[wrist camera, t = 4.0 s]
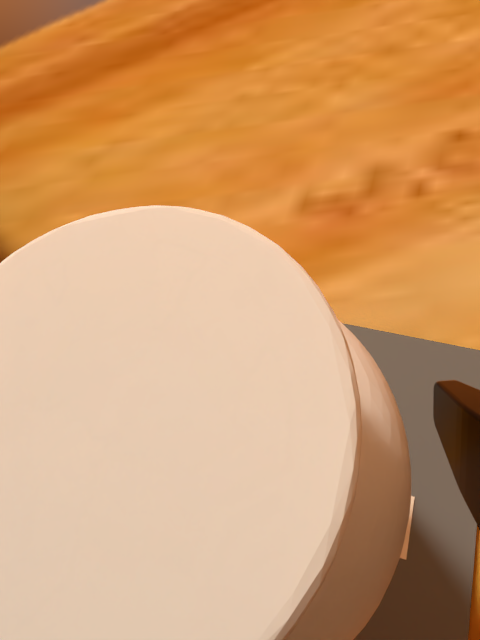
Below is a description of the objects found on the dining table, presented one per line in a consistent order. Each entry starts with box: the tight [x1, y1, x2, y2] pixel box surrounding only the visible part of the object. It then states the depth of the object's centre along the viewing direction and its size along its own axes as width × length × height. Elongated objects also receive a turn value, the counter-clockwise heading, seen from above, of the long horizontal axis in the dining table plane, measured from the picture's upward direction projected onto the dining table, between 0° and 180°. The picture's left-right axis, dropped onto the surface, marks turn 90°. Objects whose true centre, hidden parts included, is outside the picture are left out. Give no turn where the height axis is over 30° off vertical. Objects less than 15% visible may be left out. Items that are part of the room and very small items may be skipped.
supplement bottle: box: [0, 205, 411, 640], centre depth 9 cm, size 7×7×13 cm
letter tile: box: [342, 323, 480, 640], centre depth 15 cm, size 14×14×1 cm
